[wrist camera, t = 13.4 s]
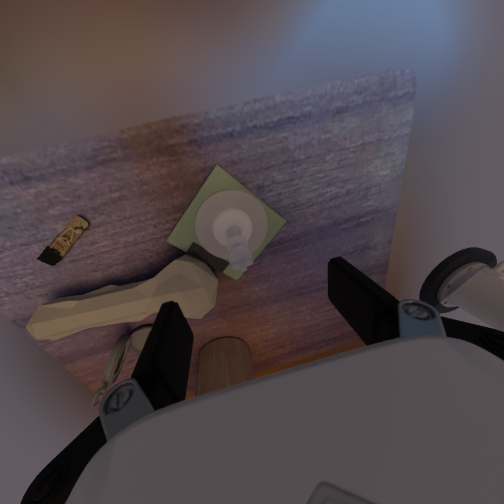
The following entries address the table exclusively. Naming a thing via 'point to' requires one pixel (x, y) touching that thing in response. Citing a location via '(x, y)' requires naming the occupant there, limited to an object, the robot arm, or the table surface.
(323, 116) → the table surface
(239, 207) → the scale
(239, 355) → the planter
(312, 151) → the table surface
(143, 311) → the faceted club
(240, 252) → the chess piece
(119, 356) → the pocket watch
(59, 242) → the ornate gold black bar
